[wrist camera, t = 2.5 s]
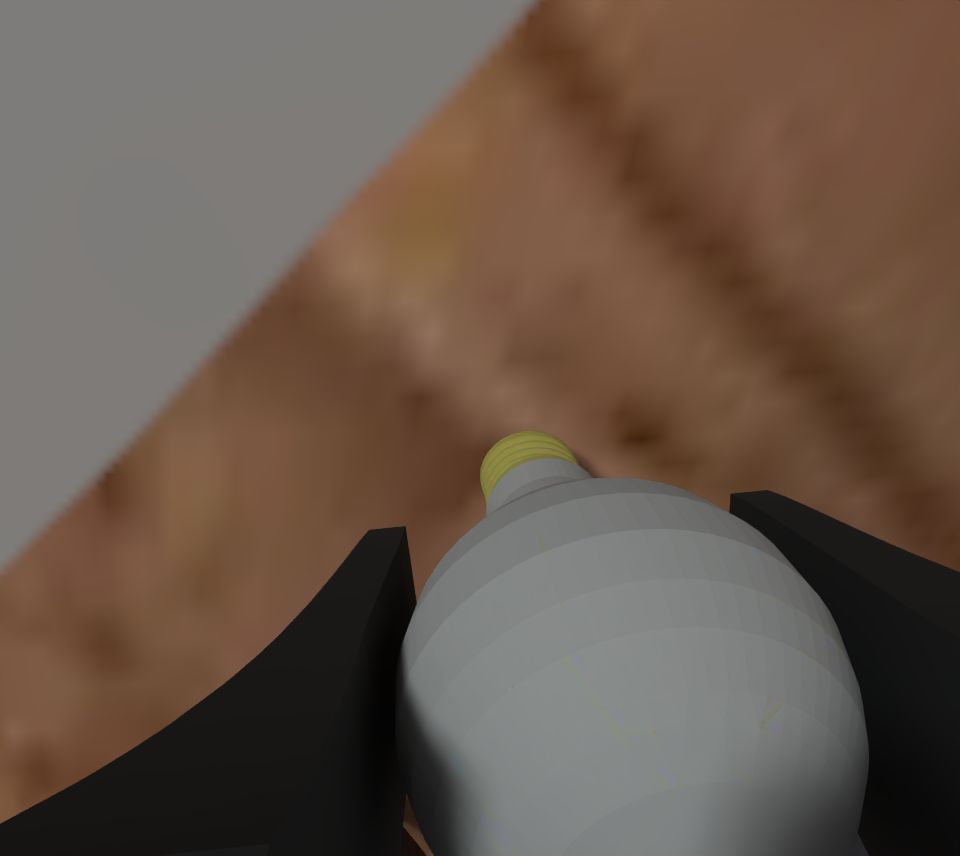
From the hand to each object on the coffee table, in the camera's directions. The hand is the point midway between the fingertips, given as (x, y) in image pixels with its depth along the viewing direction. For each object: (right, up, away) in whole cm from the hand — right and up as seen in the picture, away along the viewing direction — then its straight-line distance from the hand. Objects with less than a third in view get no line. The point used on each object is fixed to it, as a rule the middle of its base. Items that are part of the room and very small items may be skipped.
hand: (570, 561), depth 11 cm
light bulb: (-1, +2, +4) cm, 4 cm away
